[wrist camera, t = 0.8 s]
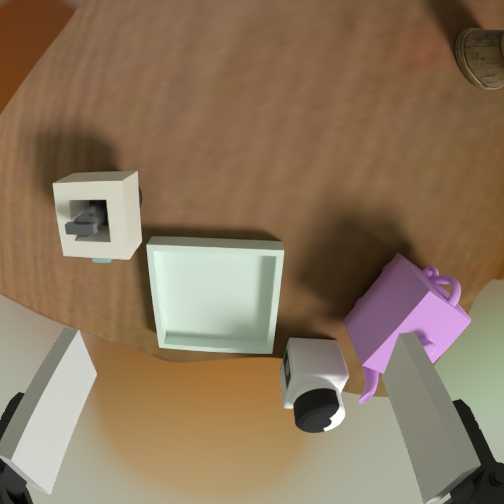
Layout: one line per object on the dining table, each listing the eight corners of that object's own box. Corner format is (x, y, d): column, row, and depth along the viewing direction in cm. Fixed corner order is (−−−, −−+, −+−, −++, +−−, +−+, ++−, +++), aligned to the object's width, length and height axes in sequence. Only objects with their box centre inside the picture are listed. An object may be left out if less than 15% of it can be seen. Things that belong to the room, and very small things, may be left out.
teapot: (403, 232, 39) (452, 279, 27) (445, 265, 41) (491, 313, 30) (317, 339, 46) (333, 404, 35) (364, 359, 48) (386, 418, 37)
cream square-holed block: (73, 173, 31) (52, 183, 27) (137, 170, 31) (122, 180, 27) (82, 248, 35) (65, 265, 31) (143, 251, 35) (130, 270, 31)
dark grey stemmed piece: (96, 173, 35) (49, 199, 25) (140, 172, 35) (103, 198, 25) (100, 219, 37) (59, 257, 28) (143, 220, 38) (110, 260, 28)
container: (278, 371, 49) (285, 438, 37) (288, 335, 45) (299, 405, 34) (324, 373, 49) (339, 437, 38) (338, 339, 46) (359, 405, 34)
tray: (152, 235, 38) (146, 244, 36) (282, 241, 39) (284, 250, 37) (163, 335, 45) (159, 347, 43) (271, 341, 46) (272, 353, 43)
